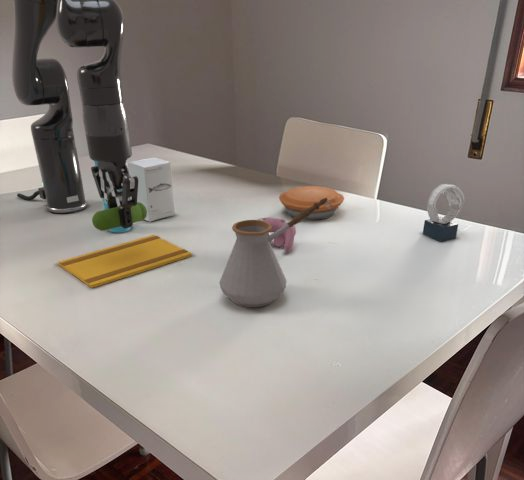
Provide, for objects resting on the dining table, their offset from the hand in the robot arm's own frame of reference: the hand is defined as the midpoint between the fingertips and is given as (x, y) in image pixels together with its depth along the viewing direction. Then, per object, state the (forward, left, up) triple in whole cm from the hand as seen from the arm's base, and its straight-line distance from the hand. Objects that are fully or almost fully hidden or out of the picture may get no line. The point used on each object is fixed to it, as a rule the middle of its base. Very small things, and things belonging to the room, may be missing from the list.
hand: (121, 224), depth 108 cm
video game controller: (+14, +26, -8) cm, 31 cm away
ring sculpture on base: (+34, +57, -8) cm, 67 cm away
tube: (-17, +8, -8) cm, 20 cm away
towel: (0, 0, -7) cm, 7 cm away
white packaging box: (-20, +19, -8) cm, 28 cm away
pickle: (0, 0, 0) cm, 0 cm away
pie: (+4, +48, -8) cm, 49 cm away
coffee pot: (+30, +13, -8) cm, 34 cm away
